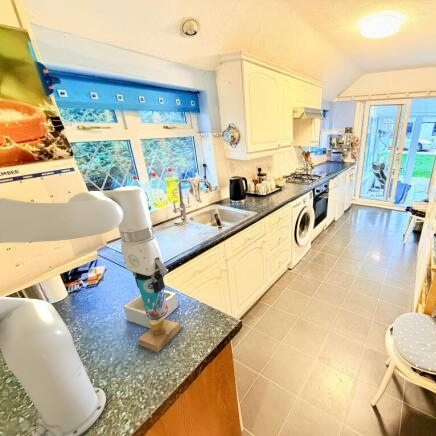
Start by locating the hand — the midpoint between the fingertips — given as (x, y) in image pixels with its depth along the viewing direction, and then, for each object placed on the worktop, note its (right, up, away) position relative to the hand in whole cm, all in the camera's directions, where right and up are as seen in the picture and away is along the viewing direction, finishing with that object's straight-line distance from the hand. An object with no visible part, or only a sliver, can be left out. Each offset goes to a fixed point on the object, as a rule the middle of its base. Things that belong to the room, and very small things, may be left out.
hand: (151, 287), depth 70 cm
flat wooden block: (-5, -22, +14) cm, 26 cm away
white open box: (-14, -18, +24) cm, 33 cm away
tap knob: (-5, -19, +13) cm, 23 cm away
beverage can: (0, -9, +4) cm, 10 cm away
